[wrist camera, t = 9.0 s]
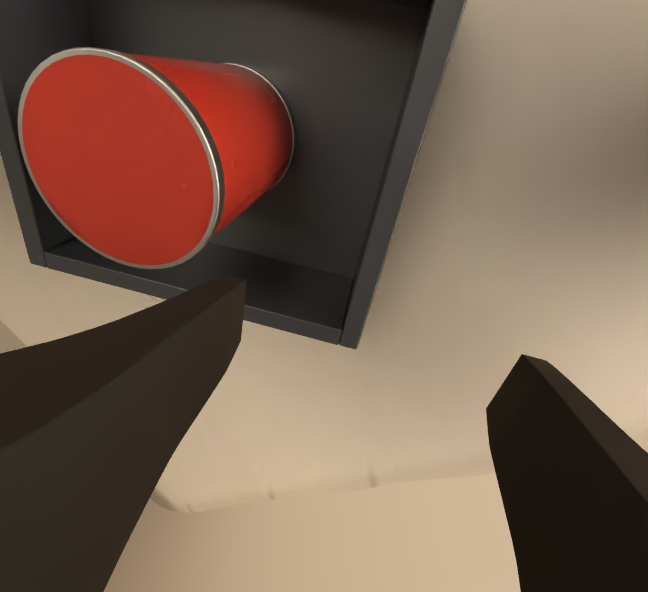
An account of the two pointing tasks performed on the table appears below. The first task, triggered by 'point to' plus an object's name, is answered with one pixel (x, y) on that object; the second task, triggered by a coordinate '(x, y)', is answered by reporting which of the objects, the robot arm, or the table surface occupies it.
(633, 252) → the table surface
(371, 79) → the drawer
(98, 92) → the tin can
